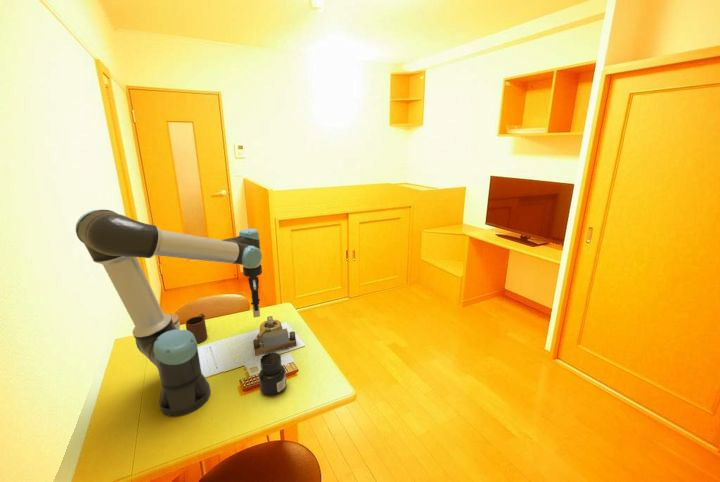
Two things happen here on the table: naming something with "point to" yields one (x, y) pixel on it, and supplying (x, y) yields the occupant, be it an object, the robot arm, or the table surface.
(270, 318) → the nut station
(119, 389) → the table surface
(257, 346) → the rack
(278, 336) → the bar
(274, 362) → the ink bottle
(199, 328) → the mug
